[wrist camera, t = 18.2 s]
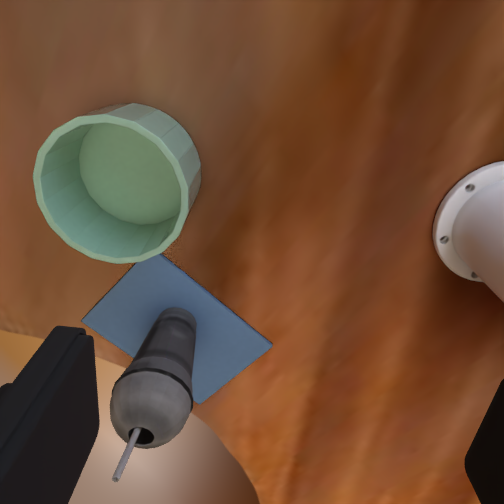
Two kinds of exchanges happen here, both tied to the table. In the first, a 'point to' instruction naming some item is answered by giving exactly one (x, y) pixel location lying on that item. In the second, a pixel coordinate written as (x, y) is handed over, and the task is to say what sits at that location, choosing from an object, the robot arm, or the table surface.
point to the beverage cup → (156, 386)
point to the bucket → (118, 182)
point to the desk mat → (186, 297)
